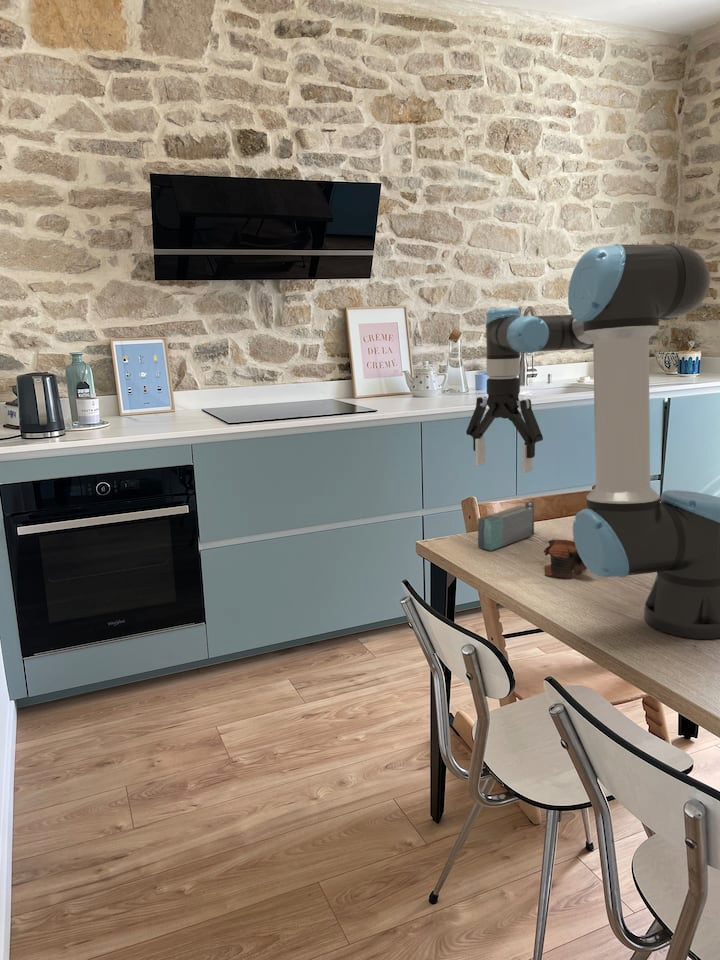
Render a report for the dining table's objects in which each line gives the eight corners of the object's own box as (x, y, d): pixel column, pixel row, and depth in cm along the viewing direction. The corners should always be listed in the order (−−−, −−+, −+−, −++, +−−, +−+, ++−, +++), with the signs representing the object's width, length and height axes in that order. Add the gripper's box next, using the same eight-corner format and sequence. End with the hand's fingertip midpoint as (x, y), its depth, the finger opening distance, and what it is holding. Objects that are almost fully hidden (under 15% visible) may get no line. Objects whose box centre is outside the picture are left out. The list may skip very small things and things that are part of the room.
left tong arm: (519, 532, 186) (519, 505, 185) (525, 534, 185) (525, 506, 183) (478, 547, 176) (478, 518, 174) (484, 548, 175) (484, 520, 173)
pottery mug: (530, 575, 159) (536, 538, 161) (559, 585, 164) (564, 549, 166) (576, 575, 149) (581, 535, 151) (605, 586, 154) (610, 547, 156)
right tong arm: (525, 534, 185) (526, 506, 183) (532, 535, 183) (532, 508, 182) (484, 548, 175) (484, 520, 173) (490, 550, 173) (490, 521, 172)
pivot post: (530, 535, 184) (530, 504, 183) (523, 534, 186) (523, 503, 184) (535, 533, 186) (536, 502, 184) (528, 532, 187) (528, 501, 186)
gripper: (559, 377, 163) (558, 472, 168) (471, 374, 182) (472, 460, 186) (539, 380, 158) (538, 477, 163) (451, 377, 177) (452, 464, 181)
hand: (503, 468), depth 174 cm, fingers open, 13 cm apart
